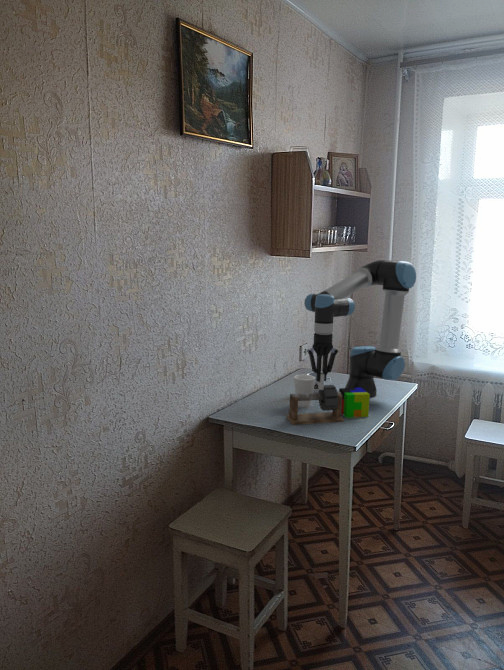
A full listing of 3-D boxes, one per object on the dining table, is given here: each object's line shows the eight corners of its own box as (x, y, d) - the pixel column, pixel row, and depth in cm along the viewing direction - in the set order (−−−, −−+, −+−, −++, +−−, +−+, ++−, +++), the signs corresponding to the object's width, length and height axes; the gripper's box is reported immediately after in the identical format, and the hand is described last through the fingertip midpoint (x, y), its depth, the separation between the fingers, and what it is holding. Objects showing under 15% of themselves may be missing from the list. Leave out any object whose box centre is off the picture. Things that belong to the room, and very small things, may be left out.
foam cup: (312, 409, 240) (314, 380, 237) (292, 407, 242) (292, 379, 239) (314, 402, 249) (315, 375, 246) (294, 401, 251) (295, 373, 248)
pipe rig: (336, 414, 233) (337, 388, 231) (343, 421, 225) (345, 395, 223) (286, 417, 229) (287, 391, 227) (292, 424, 220) (293, 397, 218)
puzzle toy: (359, 409, 241) (361, 387, 239) (368, 416, 232) (369, 394, 230) (338, 410, 240) (339, 388, 238) (346, 417, 230) (347, 395, 228)
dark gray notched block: (328, 404, 233) (330, 382, 230) (337, 413, 223) (338, 390, 221) (317, 404, 232) (319, 382, 229) (325, 413, 222) (327, 390, 220)
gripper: (335, 330, 225) (332, 385, 230) (305, 331, 222) (303, 387, 227) (341, 334, 218) (339, 390, 223) (310, 334, 215) (308, 392, 220)
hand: (320, 388), depth 225 cm, fingers closed
